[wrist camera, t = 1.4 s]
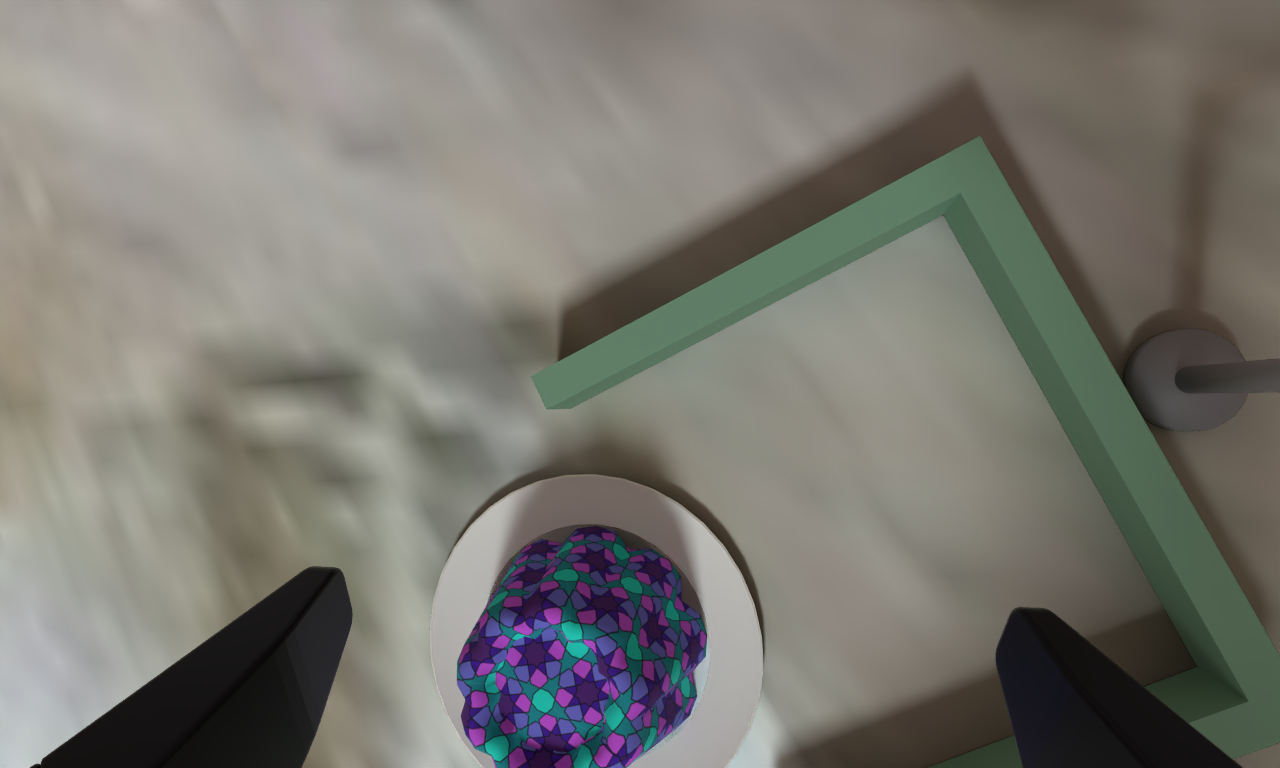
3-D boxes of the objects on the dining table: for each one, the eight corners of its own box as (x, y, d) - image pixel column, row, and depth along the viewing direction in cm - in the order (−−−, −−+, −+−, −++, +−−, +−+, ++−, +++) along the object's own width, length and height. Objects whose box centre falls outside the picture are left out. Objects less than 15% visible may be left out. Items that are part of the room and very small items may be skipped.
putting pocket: (786, 862, 24) (778, 1134, 15) (556, 378, 26) (431, 367, 17) (1480, 609, 20) (2021, 776, 11) (1145, 65, 22) (1378, -158, 13)
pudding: (645, 883, 25) (607, 1007, 20) (384, 674, 27) (289, 737, 22) (833, 600, 24) (843, 656, 19) (544, 408, 26) (483, 410, 21)
